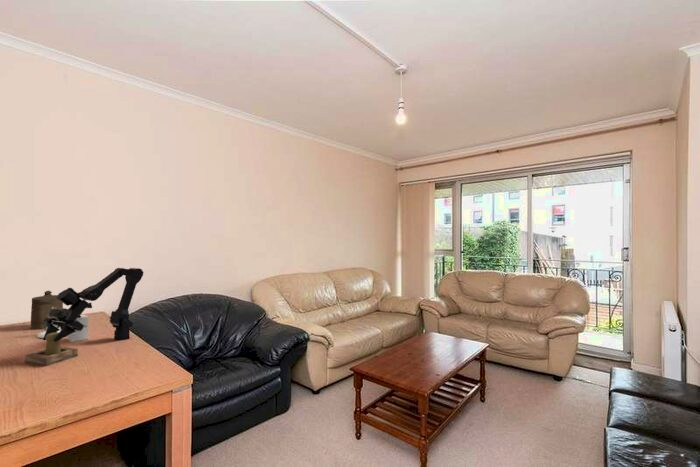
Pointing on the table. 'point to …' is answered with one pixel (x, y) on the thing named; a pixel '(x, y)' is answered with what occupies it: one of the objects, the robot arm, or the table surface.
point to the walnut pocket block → (51, 356)
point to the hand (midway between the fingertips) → (49, 340)
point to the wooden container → (43, 309)
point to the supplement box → (80, 334)
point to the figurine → (41, 334)
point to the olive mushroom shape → (52, 344)
